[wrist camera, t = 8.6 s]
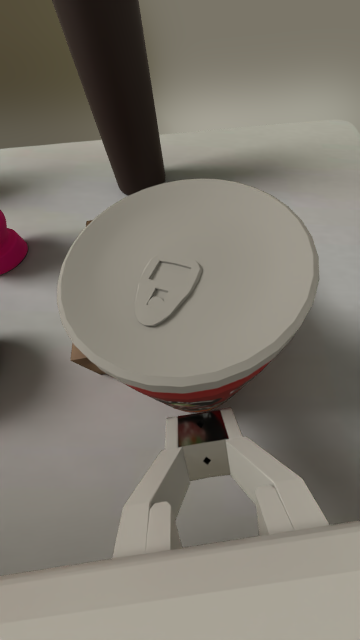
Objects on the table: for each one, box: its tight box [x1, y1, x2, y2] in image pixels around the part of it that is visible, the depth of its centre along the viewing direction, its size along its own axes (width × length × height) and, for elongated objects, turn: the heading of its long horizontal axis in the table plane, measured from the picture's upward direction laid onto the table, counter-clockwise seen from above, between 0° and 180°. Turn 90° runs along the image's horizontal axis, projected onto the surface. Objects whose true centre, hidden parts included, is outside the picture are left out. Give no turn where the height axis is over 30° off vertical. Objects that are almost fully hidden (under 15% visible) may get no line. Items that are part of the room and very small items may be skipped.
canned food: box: [57, 179, 319, 412], centre depth 11 cm, size 8×8×11 cm
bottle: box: [52, 0, 165, 196], centre depth 19 cm, size 7×7×20 cm
